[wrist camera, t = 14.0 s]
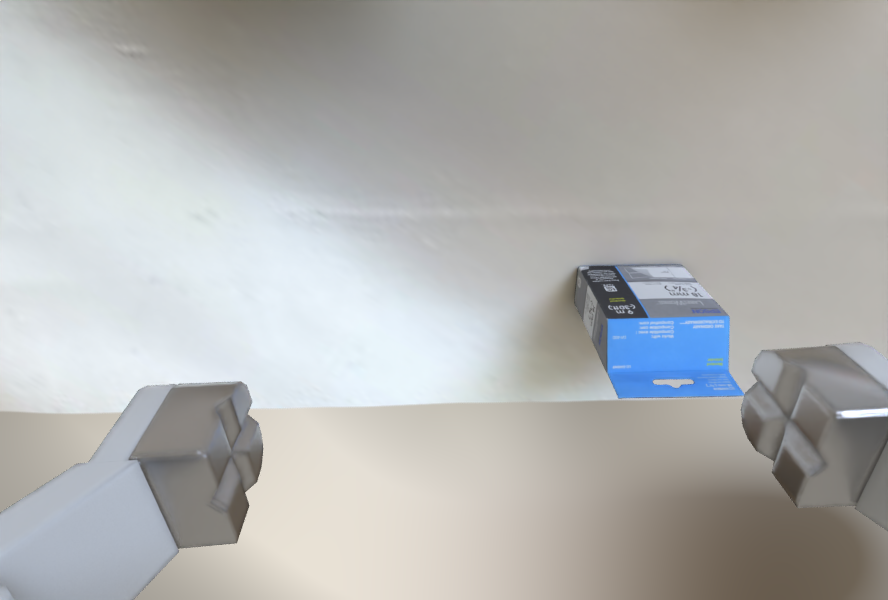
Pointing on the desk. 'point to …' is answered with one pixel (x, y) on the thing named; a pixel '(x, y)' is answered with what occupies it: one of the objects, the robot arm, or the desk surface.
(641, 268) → the tape cartridge
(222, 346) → the desk surface
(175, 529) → the robot arm
